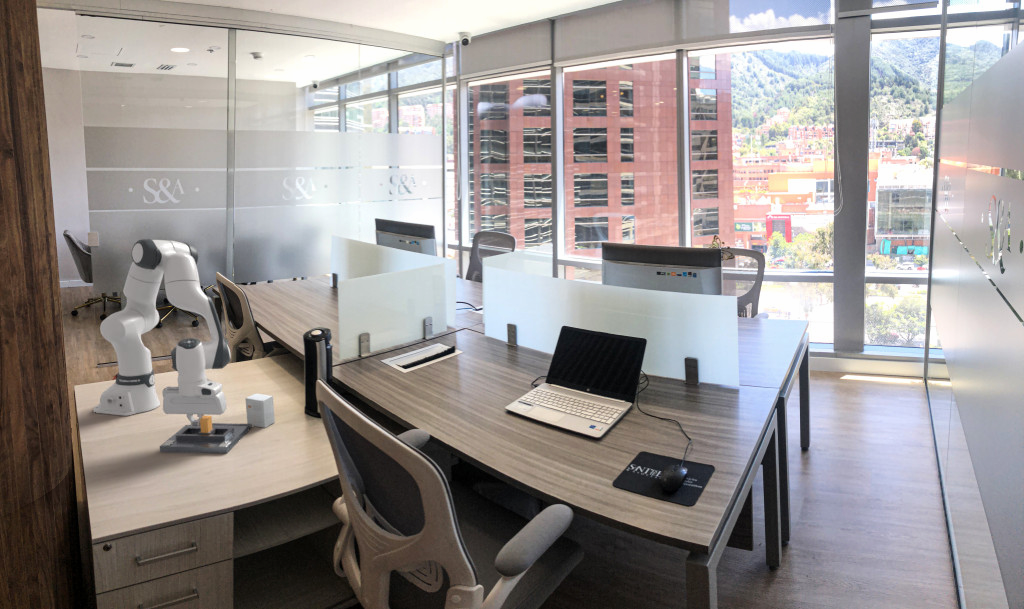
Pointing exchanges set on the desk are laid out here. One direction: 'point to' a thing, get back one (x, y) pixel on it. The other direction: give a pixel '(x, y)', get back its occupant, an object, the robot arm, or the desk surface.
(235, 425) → the twin grey rods
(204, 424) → the lever
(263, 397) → the small box
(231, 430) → the breaker panel
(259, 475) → the desk surface
